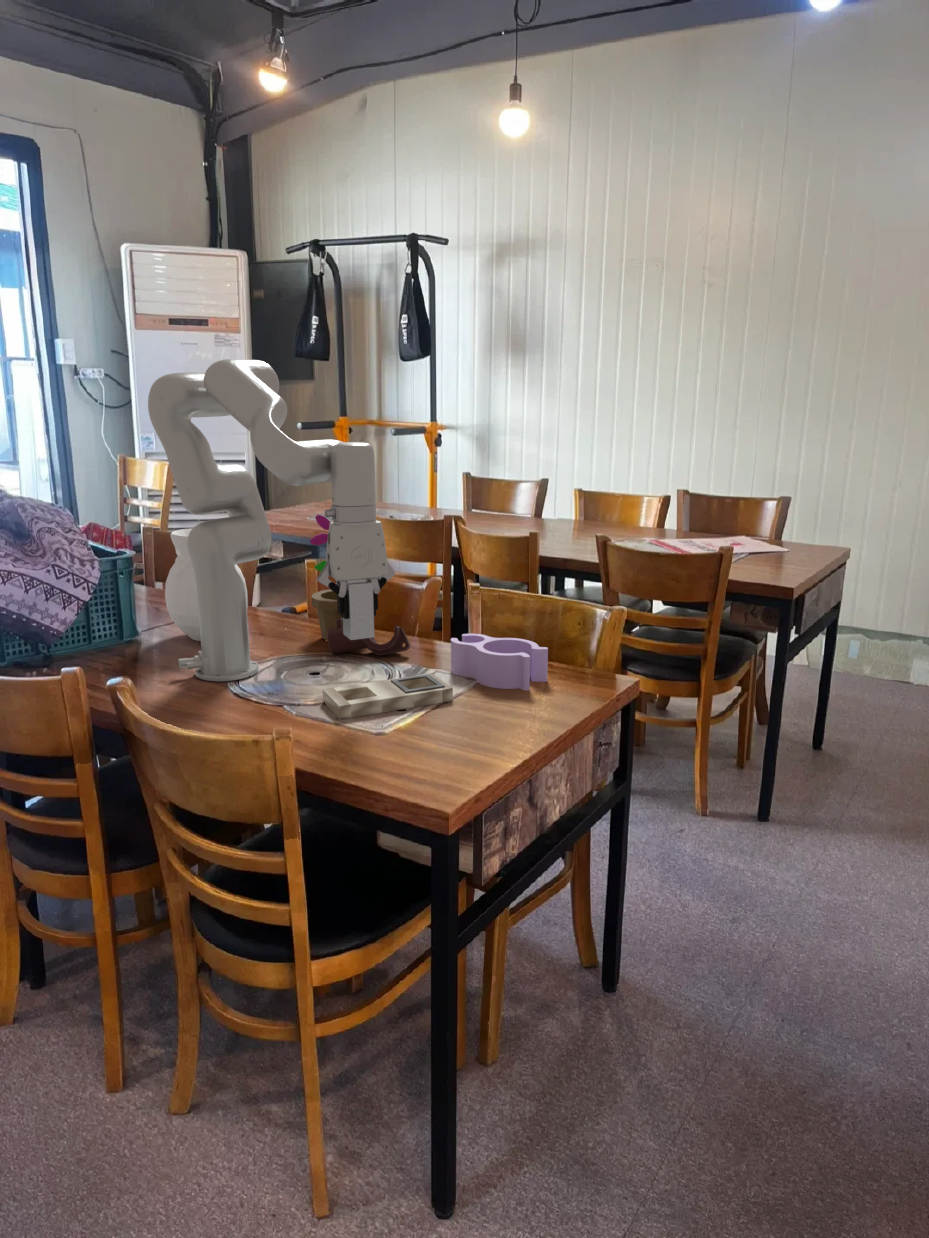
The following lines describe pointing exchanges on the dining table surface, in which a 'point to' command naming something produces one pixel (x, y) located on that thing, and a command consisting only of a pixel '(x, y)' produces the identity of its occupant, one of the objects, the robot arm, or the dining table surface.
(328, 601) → the flowerpot
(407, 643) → the bracket
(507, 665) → the clip
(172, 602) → the pitcher
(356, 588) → the peg
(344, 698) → the pegboard
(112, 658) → the dining table surface
